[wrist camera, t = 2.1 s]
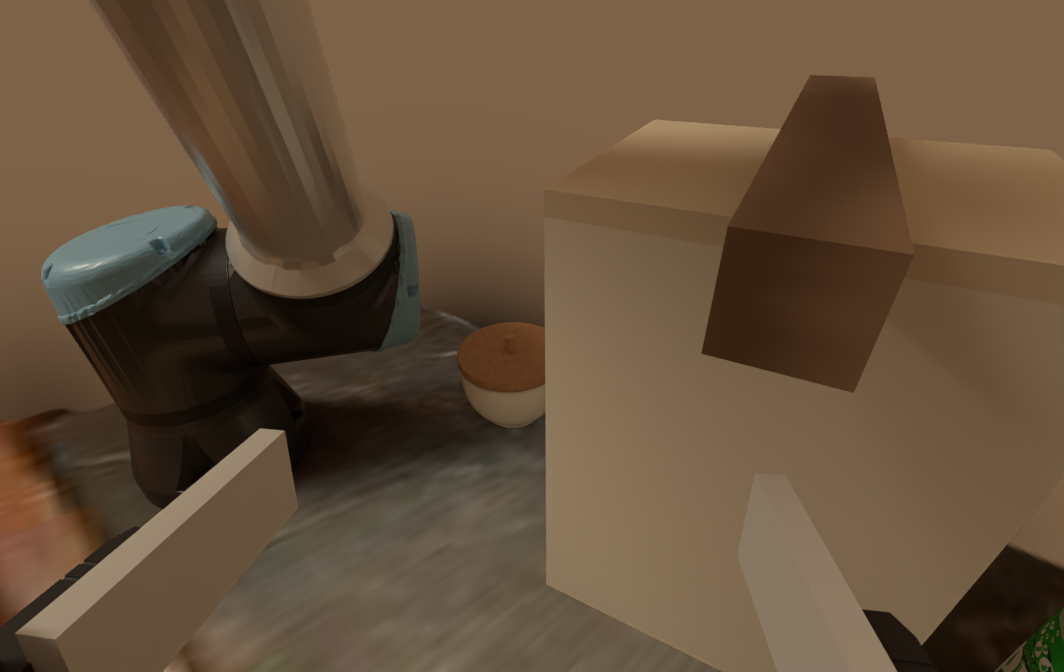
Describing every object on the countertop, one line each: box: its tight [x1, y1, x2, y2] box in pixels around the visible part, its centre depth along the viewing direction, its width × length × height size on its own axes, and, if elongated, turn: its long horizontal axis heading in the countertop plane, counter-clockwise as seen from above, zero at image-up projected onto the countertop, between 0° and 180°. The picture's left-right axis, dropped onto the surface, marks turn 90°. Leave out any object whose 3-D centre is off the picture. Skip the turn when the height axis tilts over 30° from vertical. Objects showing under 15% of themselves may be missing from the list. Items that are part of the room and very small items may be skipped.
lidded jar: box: [457, 322, 546, 428], centre depth 52 cm, size 11×11×9 cm
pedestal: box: [544, 120, 1064, 672], centre depth 31 cm, size 20×16×30 cm
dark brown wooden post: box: [701, 75, 914, 393], centre depth 19 cm, size 3×24×3 cm, turn 152°
